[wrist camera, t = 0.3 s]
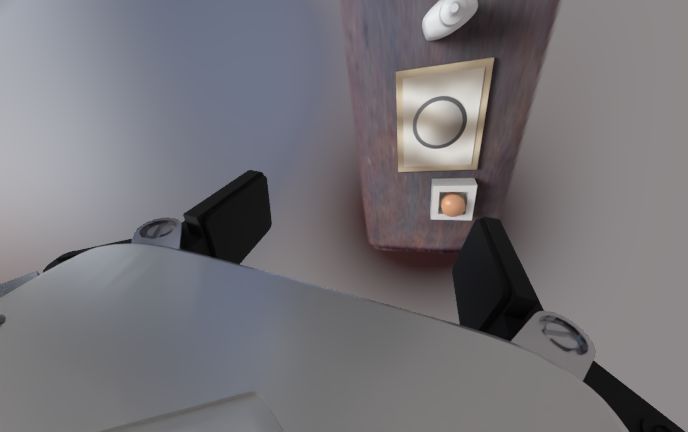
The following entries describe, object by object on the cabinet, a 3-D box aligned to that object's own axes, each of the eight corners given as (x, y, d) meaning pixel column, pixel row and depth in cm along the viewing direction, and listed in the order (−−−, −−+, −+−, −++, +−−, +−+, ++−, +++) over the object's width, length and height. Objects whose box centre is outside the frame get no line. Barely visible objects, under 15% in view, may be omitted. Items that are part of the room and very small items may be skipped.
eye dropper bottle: (461, 41, 33) (478, 37, 24) (419, 40, 34) (419, 35, 25) (472, -1, 31) (495, -25, 21) (426, -1, 32) (429, -24, 22)
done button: (441, 192, 43) (442, 198, 42) (464, 191, 42) (467, 198, 40) (440, 210, 45) (440, 216, 44) (462, 210, 44) (464, 217, 42)
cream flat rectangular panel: (396, 71, 37) (395, 72, 36) (492, 57, 33) (494, 57, 32) (398, 169, 46) (398, 172, 44) (475, 167, 42) (477, 170, 41)
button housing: (432, 178, 45) (432, 186, 42) (474, 177, 43) (477, 185, 40) (430, 211, 48) (430, 219, 46) (469, 211, 46) (471, 220, 44)
